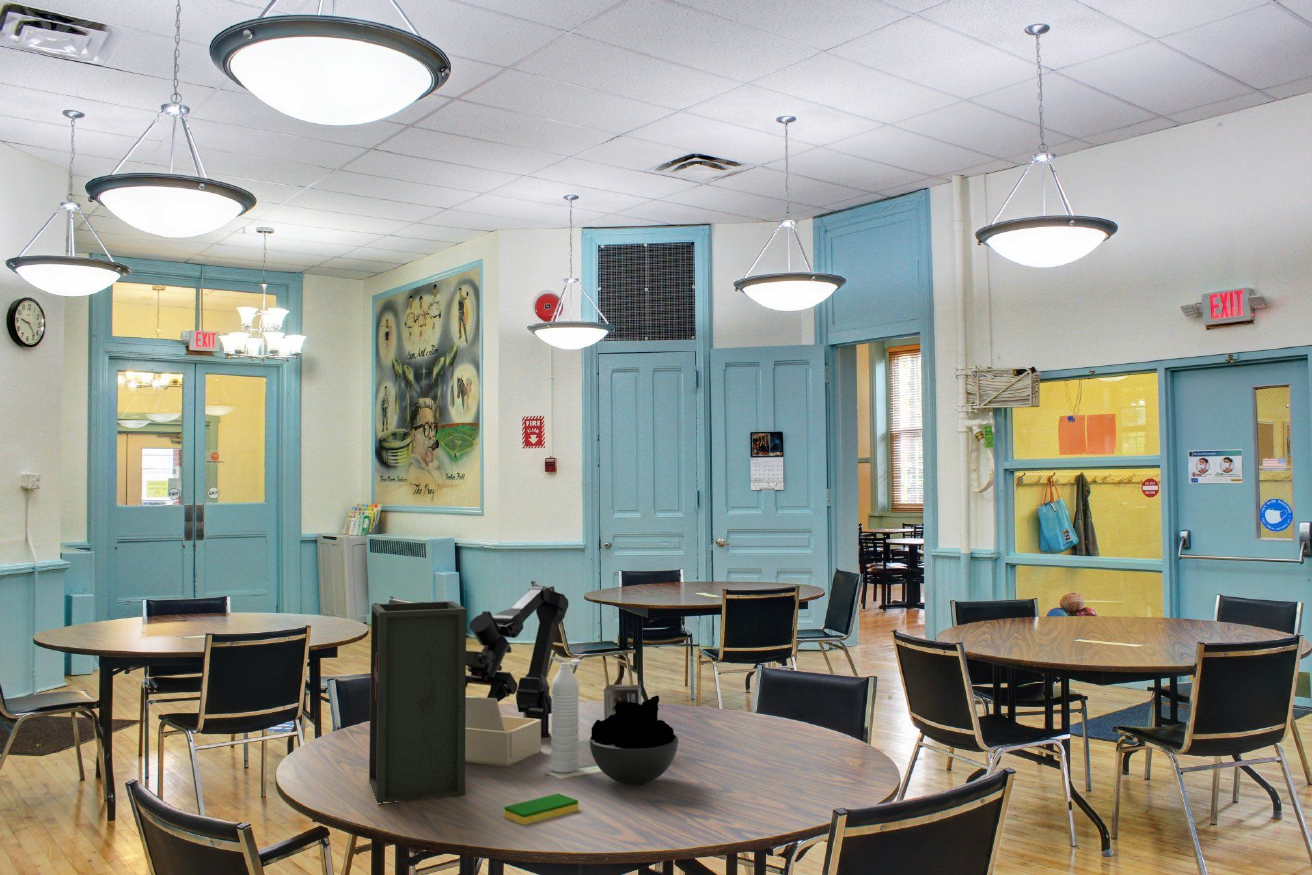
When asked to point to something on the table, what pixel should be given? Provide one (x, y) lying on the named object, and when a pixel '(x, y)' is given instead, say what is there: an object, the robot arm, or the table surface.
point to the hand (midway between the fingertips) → (466, 710)
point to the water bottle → (565, 720)
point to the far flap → (483, 713)
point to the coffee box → (620, 696)
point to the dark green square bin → (417, 701)
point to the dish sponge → (541, 808)
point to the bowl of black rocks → (633, 743)
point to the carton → (503, 742)
